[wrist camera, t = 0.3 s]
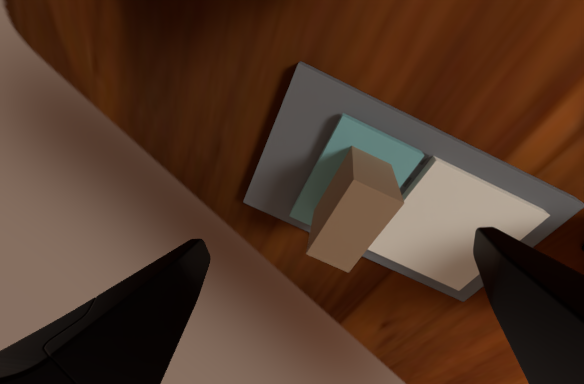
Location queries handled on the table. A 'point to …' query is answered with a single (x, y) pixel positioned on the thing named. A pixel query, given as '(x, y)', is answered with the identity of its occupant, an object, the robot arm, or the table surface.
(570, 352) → the robot arm
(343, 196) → the stub
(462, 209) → the board
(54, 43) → the table surface
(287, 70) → the table surface
